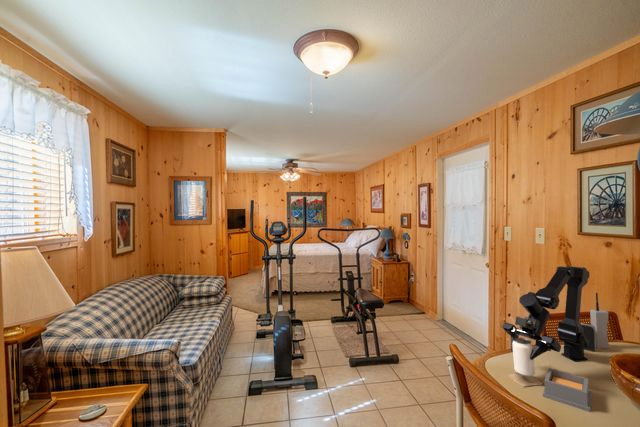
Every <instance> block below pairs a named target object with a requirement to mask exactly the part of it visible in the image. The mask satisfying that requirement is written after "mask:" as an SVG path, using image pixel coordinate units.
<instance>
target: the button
mask: <svg viewBox="0 0 640 427" xmlns="http://www.w3.org/2000/svg"><path fill="white" fill-rule="evenodd" d="M552 381H553V382H556V383H559V384H563V385H566V386H570V387H573V388H577V389H580V390H583V385H582V384H579V383H575V382H572V381H568V380H565V379H561V378H557V377H554V376H553V379H552Z"/></svg>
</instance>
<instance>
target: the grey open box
mask: <svg viewBox="0 0 640 427" xmlns="http://www.w3.org/2000/svg"><path fill="white" fill-rule="evenodd" d="M553 376H554V377H557V378H561V379H565V380H568V381H572V382H575V383H579V384H582V385H583V390H580V389H577V388H573V387H570V386H566V385H563V384H559V383H556V382H553V381H552V379H553ZM589 389H590V388H589V378H588V377H583V376H579V375H576V374H572V373H569V372H565V371H561V370H557V369H554V368H550V367H549V368H548V369H547V372H546V374H545V379H544V389H543V392H542V397H544V398H547V399H550V400H552V401H554V402H555V401H556V402H558V403H562V404H565V405H568V406H571V407H574V408H577V409H580V410H583V411H586V412H591V409H592V407H591V406H592V391H590V390H589Z"/></svg>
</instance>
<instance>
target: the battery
mask: <svg viewBox="0 0 640 427" xmlns="http://www.w3.org/2000/svg"><path fill="white" fill-rule="evenodd" d="M580 324H581V326H582V327H583V329H584V335H585V336H586V337H587V339H588V340H589V345H588V348H585V347H584V350H586V351H590V352H596V351H597V350H596V348H597V347H595V337H596V332H595V327H594V326H593V325H591V323H584V322H580Z"/></svg>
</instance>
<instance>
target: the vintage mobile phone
mask: <svg viewBox="0 0 640 427" xmlns="http://www.w3.org/2000/svg"><path fill="white" fill-rule="evenodd" d="M598 295H599V294H598V293H597V292H596V293H595V300H596V302H595V307H596V308H595V309H590V310H589V314H590V325H593V326H594V327H595V332H596V337H595V348H598V349H611V345H610V343H609V340H608V324H609V311H606V310H605V309H600V307H599V306H600V305H599V296H598Z"/></svg>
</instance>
